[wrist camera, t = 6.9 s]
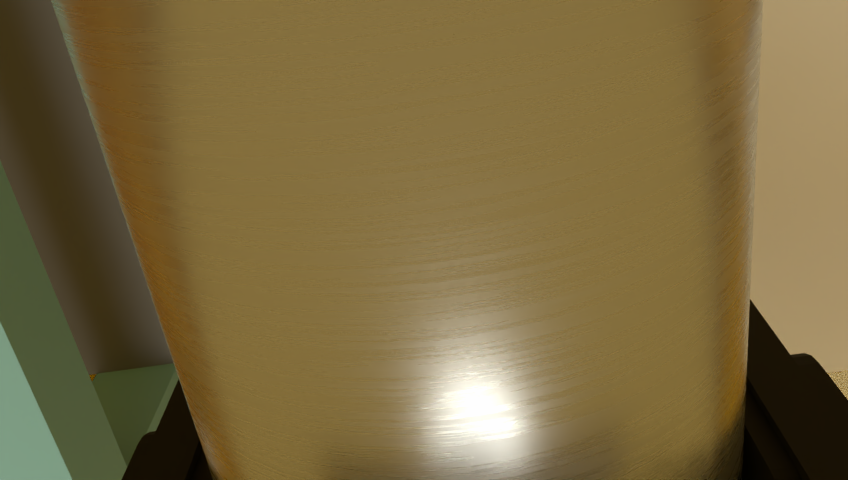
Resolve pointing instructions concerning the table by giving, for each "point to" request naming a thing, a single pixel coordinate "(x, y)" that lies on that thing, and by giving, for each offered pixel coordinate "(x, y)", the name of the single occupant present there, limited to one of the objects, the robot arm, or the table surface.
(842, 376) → the table surface
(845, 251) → the slab
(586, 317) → the loose roller
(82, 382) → the runway
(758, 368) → the robot arm
